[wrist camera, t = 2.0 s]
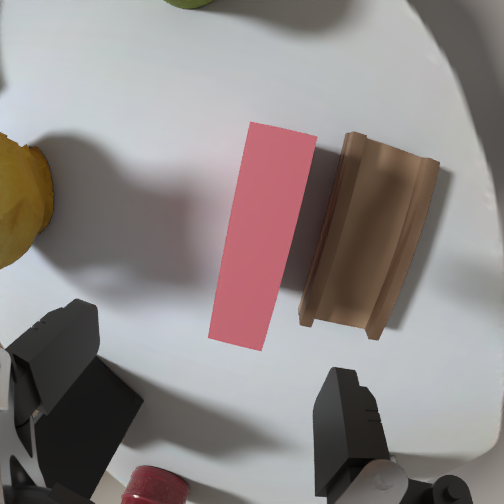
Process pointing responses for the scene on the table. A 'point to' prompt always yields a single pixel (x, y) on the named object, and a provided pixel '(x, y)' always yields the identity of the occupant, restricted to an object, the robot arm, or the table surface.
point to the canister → (155, 487)
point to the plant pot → (188, 3)
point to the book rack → (368, 235)
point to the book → (260, 232)
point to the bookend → (84, 429)
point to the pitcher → (22, 198)
